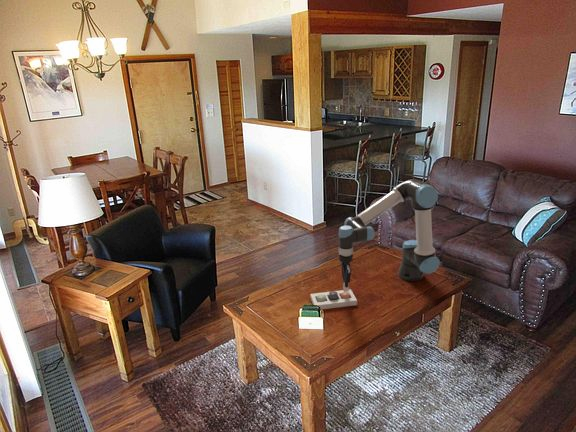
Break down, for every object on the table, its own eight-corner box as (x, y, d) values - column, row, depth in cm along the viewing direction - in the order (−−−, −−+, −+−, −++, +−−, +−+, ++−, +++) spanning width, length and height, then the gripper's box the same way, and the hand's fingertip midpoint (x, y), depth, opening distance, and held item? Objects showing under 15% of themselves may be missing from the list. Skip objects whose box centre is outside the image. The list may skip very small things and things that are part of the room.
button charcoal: (336, 295, 230) (336, 290, 229) (338, 299, 225) (338, 295, 224) (328, 296, 229) (328, 291, 228) (330, 300, 225) (330, 296, 223)
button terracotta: (348, 295, 231) (348, 291, 230) (350, 300, 227) (350, 295, 225) (340, 296, 230) (340, 292, 229) (342, 301, 226) (342, 296, 225)
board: (350, 293, 235) (350, 289, 234) (357, 305, 224) (357, 300, 223) (310, 298, 232) (310, 294, 231) (314, 310, 221) (314, 305, 220)
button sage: (324, 298, 229) (324, 294, 228) (326, 303, 225) (326, 298, 224) (316, 299, 229) (316, 295, 228) (318, 304, 224) (318, 299, 223)
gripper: (336, 249, 224) (336, 285, 232) (342, 259, 212) (342, 298, 220) (349, 247, 225) (349, 284, 233) (356, 258, 213) (355, 296, 221)
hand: (345, 290), depth 227 cm, fingers closed
